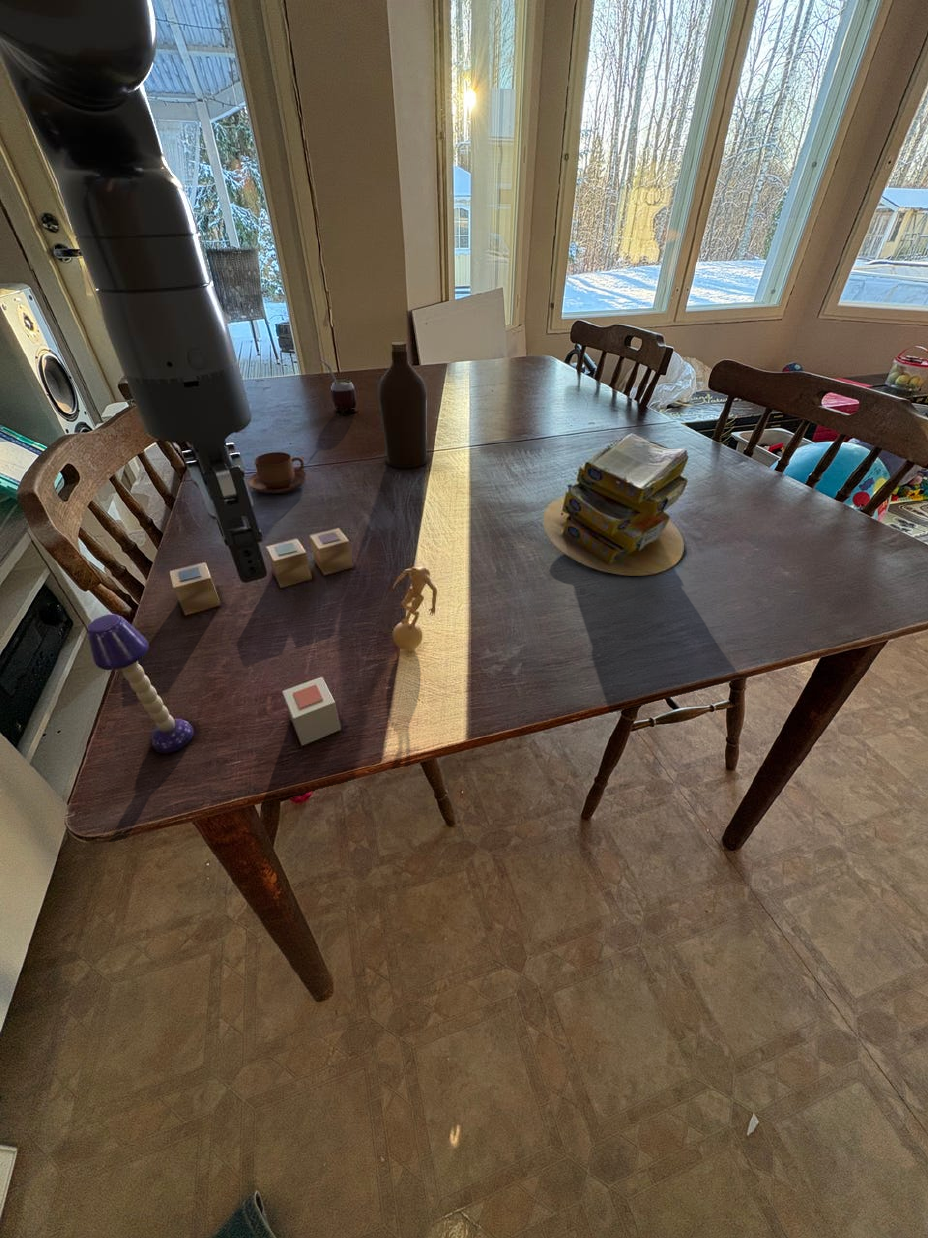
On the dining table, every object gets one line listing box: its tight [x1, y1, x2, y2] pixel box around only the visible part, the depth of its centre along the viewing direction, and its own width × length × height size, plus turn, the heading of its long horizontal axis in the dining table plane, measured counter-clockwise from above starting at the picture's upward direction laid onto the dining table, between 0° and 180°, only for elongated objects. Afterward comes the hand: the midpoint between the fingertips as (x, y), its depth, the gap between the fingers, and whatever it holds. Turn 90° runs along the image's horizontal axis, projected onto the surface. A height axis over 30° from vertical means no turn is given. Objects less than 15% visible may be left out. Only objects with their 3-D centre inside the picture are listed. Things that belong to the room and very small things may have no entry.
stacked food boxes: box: [542, 432, 689, 577], centre depth 87 cm, size 25×25×17 cm
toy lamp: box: [86, 613, 195, 754], centre depth 52 cm, size 5×5×17 cm
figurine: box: [392, 565, 438, 651], centre depth 66 cm, size 8×6×12 cm
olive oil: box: [377, 341, 428, 469], centre depth 113 cm, size 11×11×25 cm
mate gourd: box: [318, 358, 357, 416], centre depth 146 cm, size 8×8×15 cm
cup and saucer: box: [247, 451, 308, 494], centre depth 108 cm, size 12×12×6 cm
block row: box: [169, 527, 354, 616], centre depth 80 cm, size 26×5×5 cm, turn 120°
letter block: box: [281, 676, 342, 746], centre depth 58 cm, size 5×5×5 cm
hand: (243, 555), depth 47 cm, fingers open, 8 cm apart
